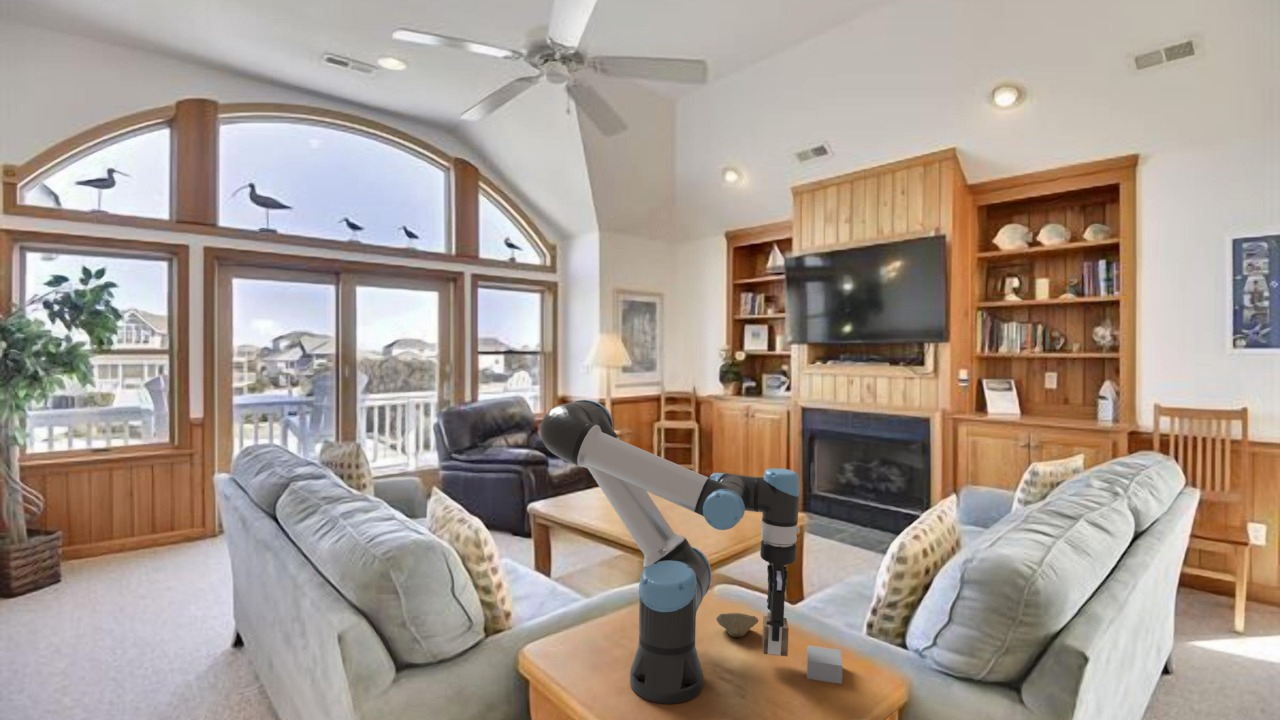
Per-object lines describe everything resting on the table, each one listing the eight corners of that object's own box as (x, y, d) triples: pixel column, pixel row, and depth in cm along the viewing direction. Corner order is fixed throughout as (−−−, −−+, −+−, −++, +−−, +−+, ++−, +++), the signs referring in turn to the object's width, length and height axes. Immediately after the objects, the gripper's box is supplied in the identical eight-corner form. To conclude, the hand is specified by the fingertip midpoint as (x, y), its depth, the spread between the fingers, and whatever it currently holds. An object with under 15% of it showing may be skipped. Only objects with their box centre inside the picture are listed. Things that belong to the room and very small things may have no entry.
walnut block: (763, 653, 128) (764, 626, 128) (762, 642, 133) (763, 615, 133) (787, 656, 127) (788, 628, 127) (785, 644, 132) (786, 618, 132)
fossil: (763, 614, 143) (724, 608, 141) (765, 633, 140) (725, 627, 138) (748, 626, 150) (710, 620, 148) (749, 644, 147) (711, 639, 145)
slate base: (807, 679, 126) (807, 660, 126) (807, 663, 133) (807, 645, 133) (842, 685, 124) (842, 666, 124) (840, 668, 131) (840, 649, 131)
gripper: (801, 557, 120) (795, 671, 121) (792, 530, 138) (786, 629, 138) (763, 553, 121) (757, 666, 122) (759, 527, 139) (753, 626, 140)
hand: (773, 647), depth 130 cm, fingers closed on walnut block, 5 cm apart
